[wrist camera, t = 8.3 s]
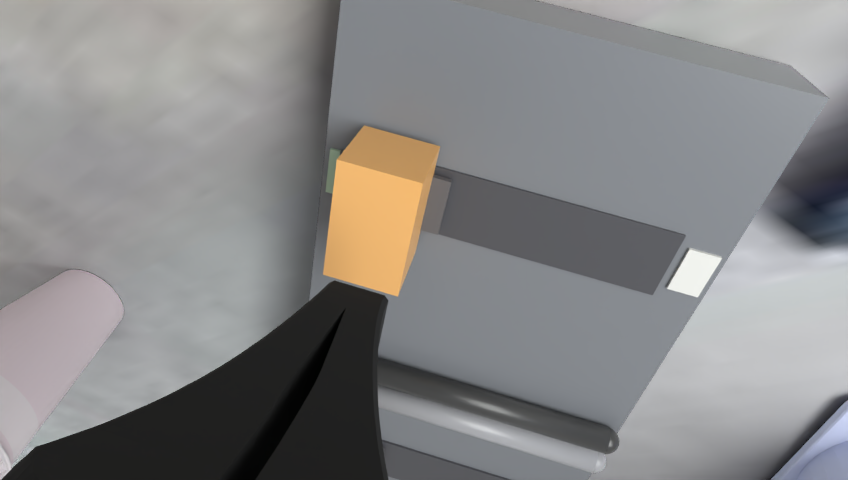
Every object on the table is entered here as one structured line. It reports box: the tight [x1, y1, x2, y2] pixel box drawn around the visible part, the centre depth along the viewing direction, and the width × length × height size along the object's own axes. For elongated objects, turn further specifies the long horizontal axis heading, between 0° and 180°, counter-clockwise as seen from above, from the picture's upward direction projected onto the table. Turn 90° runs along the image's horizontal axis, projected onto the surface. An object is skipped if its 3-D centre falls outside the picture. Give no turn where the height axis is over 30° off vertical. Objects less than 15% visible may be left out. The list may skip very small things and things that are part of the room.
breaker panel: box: [309, 0, 829, 480], centre depth 22 cm, size 13×24×4 cm, turn 168°
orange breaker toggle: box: [323, 125, 452, 297], centre depth 17 cm, size 4×4×2 cm
